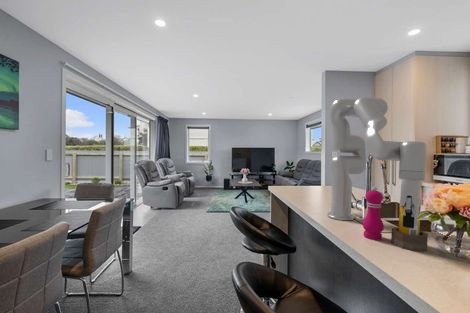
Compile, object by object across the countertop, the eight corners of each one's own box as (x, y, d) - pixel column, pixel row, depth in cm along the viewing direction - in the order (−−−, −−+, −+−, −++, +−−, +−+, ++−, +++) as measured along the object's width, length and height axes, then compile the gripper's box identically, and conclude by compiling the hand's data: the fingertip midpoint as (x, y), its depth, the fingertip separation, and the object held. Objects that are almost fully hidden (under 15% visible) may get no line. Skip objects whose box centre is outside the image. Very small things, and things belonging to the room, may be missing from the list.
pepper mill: (386, 241, 90) (388, 188, 90) (365, 239, 92) (367, 187, 91) (379, 235, 97) (381, 185, 97) (359, 233, 99) (361, 184, 98)
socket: (393, 237, 94) (394, 225, 94) (427, 245, 88) (428, 231, 88) (389, 245, 86) (390, 231, 86) (426, 253, 80) (427, 239, 80)
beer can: (411, 234, 90) (413, 195, 90) (423, 240, 84) (425, 198, 84) (394, 234, 90) (396, 194, 90) (405, 240, 84) (407, 197, 84)
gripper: (401, 173, 96) (399, 218, 96) (395, 176, 82) (393, 228, 83) (425, 175, 91) (423, 222, 91) (423, 178, 78) (420, 233, 78)
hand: (409, 224), depth 87 cm, fingers closed on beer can, 6 cm apart
